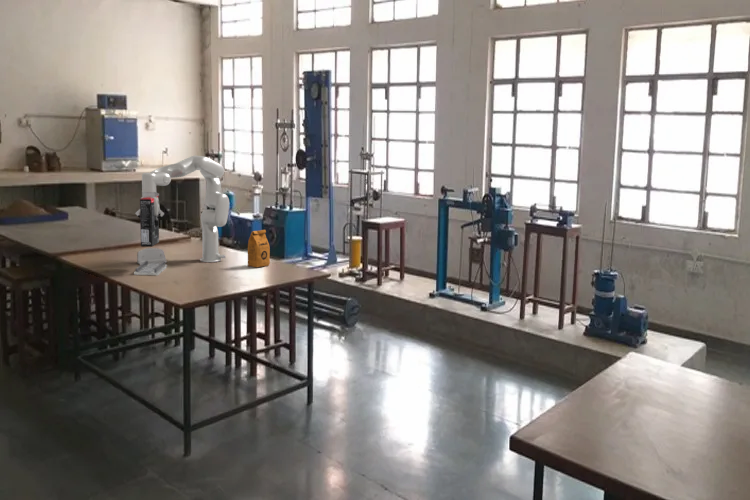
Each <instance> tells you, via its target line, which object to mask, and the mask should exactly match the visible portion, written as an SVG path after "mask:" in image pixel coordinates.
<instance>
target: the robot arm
mask: <svg viewBox="0 0 750 500" xmlns="http://www.w3.org/2000/svg"><path fill="white" fill-rule="evenodd" d="M196 171H199V172H200V174H201V175H202V177H203V178H204V179H205V181H206V191H205V198H204V204H205V205H206V206H207V207H208V208H212V209H205V210H203V211H202V212H201V214H200V222H201V230H202V231H201V233H202V237H201V238H202V245H201V246H202V257H200V258H199V260H200V261H199V262H203V263H217V262H218V263H219V262H220V261H222V259H226V254H220V252H219V230H218V227H219V228H221V227H225V226H226V224H227V222H228V219H229V209H230V199H229V197H228V195H227V194H226V193H222V192H221V191H222V190H221V189H222V188H221V187H222V183H221V180H220V178H222V177H223V176H224V174H225V168H224V166H223V165H222V164H221V163H219V162H217V161H215V160H213V159H212V158H210V157H207V156H203V155H191V156H189V157H186V158H185V159H183V160H180V161H178V162H175V163H172V164H168V165H164V166H161V167H159V168H156V169H154V170H151V171H150V172H143V173H142V174H141V189H142V190H141V197H140V199H142V198H154V214H155V219H156V220H155V227H158V225H159V226H160V224H159V223H160V222H159V223H158V220H160V219H161V218H162V217H163V216H164V215H165V212H163V210H161V208H160V200H159V196H160V193H158V192H157V186H159V187H160V186H161V187H163V186H168V185H169V184H170V183H171V181H172V179H175V178H182V177H186V176H187V175H189V174H192V173H194V172H196ZM157 196H158V197H157ZM134 214H135V215H136V216H137V217H138V219H140V208H139V209H138V210H137V211H136V212H135V213H134ZM158 214H160V215H159V216H158Z"/></svg>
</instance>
